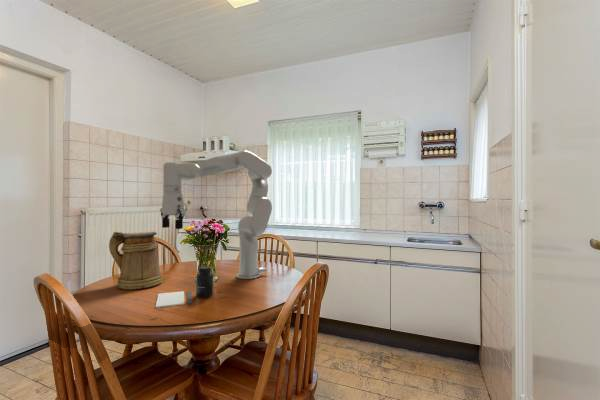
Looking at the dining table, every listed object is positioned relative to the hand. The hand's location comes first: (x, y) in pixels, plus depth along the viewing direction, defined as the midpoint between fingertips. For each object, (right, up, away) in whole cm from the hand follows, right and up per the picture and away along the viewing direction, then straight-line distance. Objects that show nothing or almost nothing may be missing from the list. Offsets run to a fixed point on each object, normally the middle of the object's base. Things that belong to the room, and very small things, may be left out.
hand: (172, 228), depth 133 cm
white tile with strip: (+7, -27, -14) cm, 31 cm away
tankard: (-20, -27, +6) cm, 34 cm away
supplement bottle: (+18, -28, -9) cm, 34 cm away
